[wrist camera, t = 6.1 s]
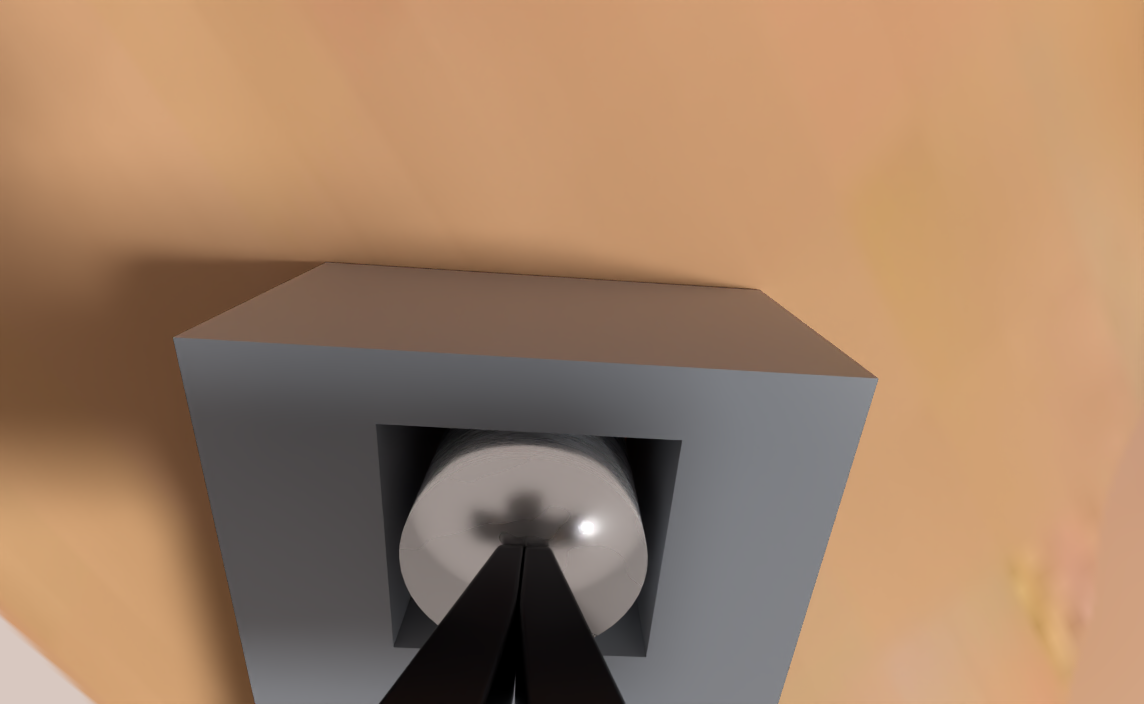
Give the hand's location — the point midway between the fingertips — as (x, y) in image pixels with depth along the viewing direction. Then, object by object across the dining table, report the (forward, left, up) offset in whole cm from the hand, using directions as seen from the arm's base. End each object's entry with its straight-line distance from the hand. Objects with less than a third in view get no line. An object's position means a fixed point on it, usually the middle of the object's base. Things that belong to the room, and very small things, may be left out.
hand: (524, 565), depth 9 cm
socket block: (-5, 0, -5) cm, 7 cm away
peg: (0, 0, -5) cm, 5 cm away
